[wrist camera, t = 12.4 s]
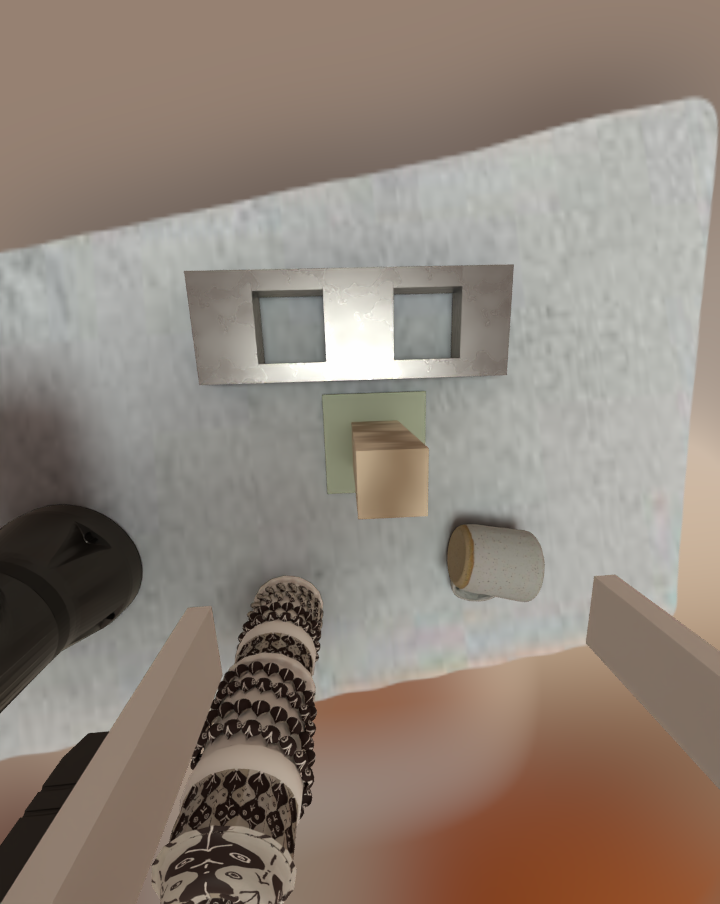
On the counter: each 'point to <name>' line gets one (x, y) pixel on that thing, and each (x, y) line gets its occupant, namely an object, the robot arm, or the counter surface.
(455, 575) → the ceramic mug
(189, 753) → the robot arm
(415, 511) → the peg
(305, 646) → the decorative candle
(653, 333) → the counter surface
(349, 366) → the grey flat slotted plate
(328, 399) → the mat
